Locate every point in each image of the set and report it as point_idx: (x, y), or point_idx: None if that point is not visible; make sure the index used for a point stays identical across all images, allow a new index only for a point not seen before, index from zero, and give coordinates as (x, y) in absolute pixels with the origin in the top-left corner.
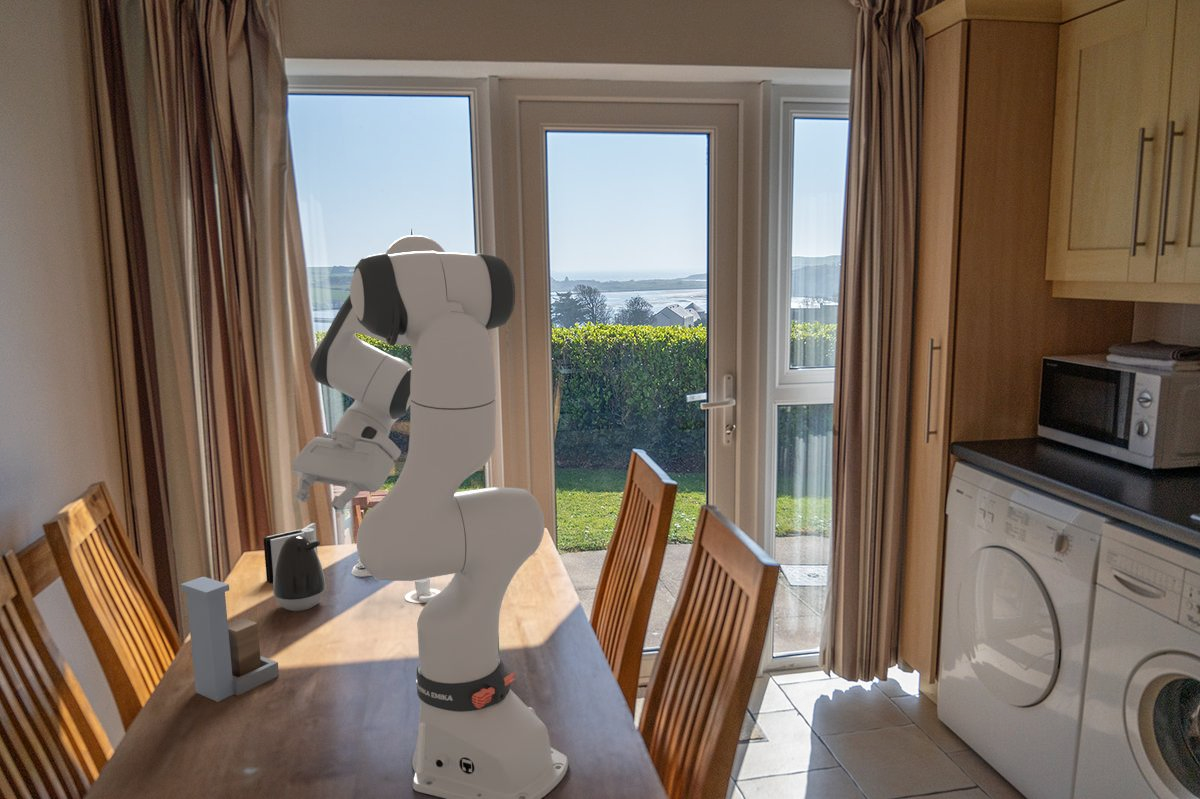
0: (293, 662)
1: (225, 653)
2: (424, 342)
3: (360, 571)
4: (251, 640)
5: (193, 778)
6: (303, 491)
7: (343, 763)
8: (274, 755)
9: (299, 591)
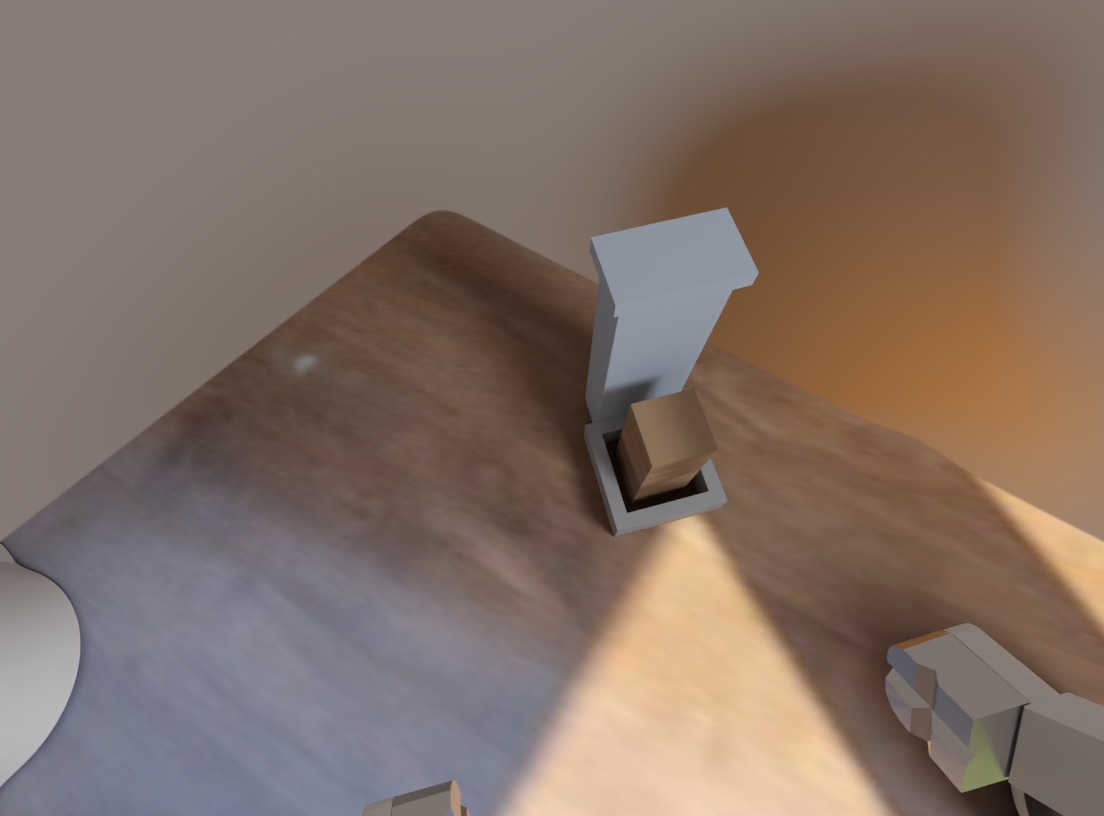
0: (663, 594)
1: (599, 382)
2: None
3: None
4: (638, 457)
5: (357, 295)
6: (954, 702)
7: (182, 486)
8: (312, 407)
9: None
